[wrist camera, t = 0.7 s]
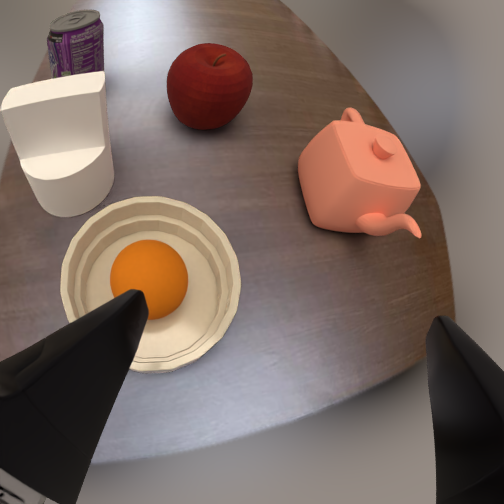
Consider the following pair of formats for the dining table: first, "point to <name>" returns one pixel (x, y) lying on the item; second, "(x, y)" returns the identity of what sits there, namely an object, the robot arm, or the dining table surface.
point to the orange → (151, 275)
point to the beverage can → (76, 44)
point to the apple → (208, 85)
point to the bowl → (198, 267)
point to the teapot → (358, 179)
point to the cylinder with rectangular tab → (63, 141)
